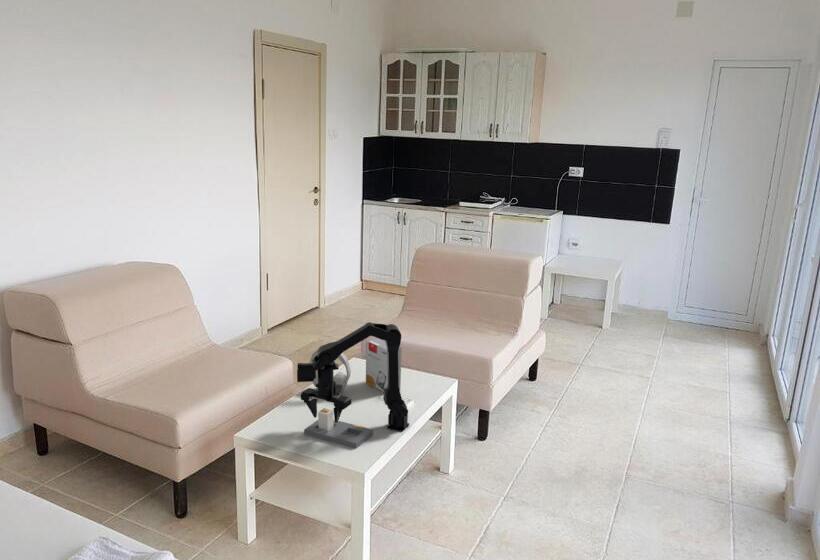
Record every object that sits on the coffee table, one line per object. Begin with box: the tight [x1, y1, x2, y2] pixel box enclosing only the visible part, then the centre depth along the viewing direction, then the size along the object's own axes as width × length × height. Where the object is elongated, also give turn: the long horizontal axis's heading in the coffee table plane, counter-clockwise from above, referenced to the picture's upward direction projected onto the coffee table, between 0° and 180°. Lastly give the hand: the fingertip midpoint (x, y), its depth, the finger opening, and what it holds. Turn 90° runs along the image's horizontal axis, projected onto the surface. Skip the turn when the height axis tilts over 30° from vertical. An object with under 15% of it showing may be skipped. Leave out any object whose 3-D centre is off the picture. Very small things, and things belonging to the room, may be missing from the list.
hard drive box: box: [365, 337, 403, 393], centre depth 277 cm, size 16×8×20 cm, turn 42°
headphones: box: [309, 349, 352, 396], centre depth 270 cm, size 19×8×20 cm, turn 66°
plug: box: [317, 408, 334, 431], centre depth 237 cm, size 4×4×9 cm
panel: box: [303, 419, 374, 449], centre depth 235 cm, size 22×12×2 cm, turn 64°
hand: (325, 419), depth 237 cm, fingers open, 9 cm apart
